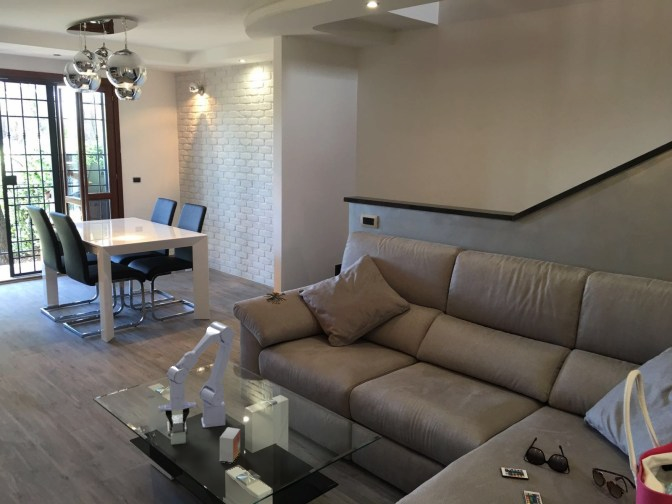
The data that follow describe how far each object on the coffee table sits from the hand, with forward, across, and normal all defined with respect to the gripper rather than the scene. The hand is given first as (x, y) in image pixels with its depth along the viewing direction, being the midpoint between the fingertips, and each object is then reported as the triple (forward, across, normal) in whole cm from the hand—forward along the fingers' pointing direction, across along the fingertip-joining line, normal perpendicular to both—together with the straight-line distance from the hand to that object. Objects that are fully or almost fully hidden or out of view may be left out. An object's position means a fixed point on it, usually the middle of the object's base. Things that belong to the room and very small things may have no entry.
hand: (177, 425), depth 229 cm
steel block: (+2, 0, 0) cm, 2 cm away
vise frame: (+5, 0, -3) cm, 6 cm away
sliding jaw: (+5, 0, -9) cm, 10 cm away
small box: (+5, -18, +20) cm, 28 cm away
